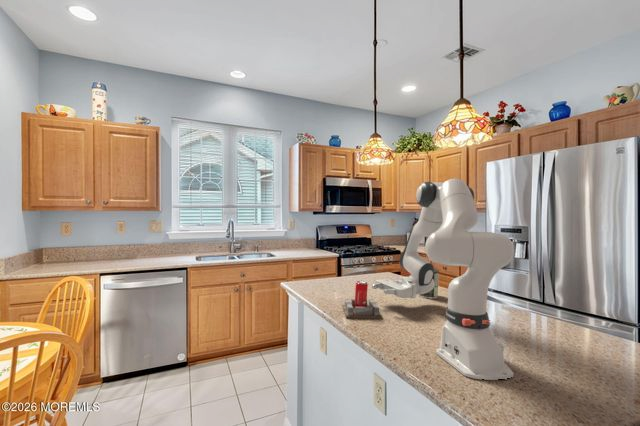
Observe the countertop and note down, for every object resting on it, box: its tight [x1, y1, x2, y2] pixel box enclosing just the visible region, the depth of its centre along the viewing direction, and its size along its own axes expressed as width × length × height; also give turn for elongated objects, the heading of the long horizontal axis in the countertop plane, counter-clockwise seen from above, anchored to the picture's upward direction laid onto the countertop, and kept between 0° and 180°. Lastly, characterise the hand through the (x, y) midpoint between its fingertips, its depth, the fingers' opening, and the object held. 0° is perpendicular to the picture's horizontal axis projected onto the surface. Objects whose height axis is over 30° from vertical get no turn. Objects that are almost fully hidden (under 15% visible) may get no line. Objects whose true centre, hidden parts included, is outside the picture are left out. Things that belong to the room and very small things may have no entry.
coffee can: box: [417, 268, 439, 300], centre depth 165 cm, size 10×10×14 cm
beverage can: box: [354, 280, 369, 307], centre depth 138 cm, size 5×5×12 cm
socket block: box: [341, 298, 383, 320], centre depth 137 cm, size 15×15×4 cm
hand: (378, 289), depth 141 cm, fingers open, 8 cm apart
